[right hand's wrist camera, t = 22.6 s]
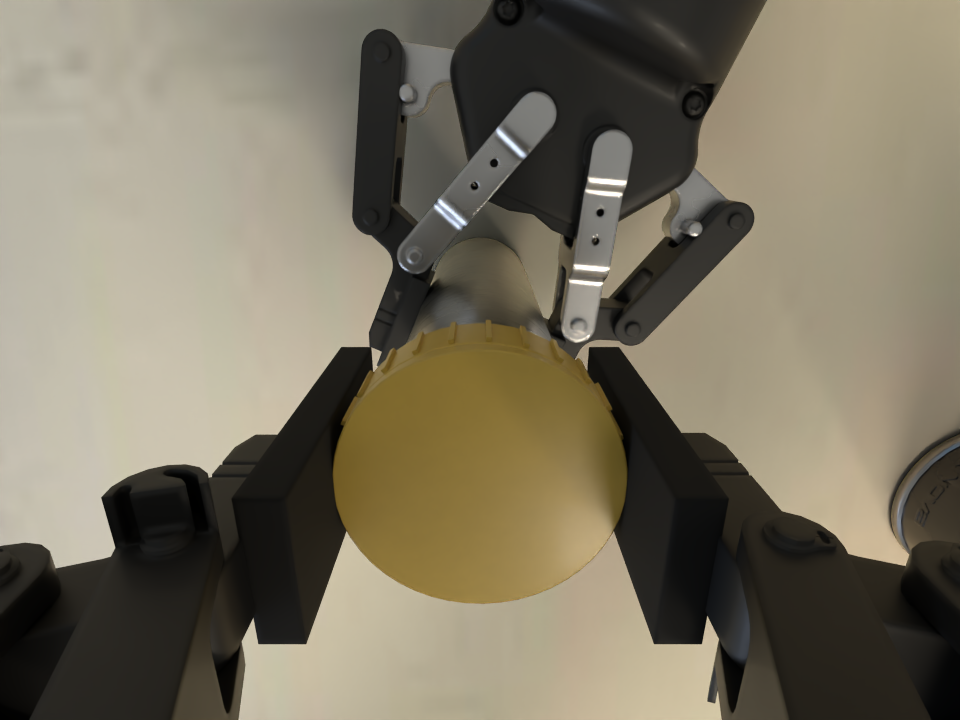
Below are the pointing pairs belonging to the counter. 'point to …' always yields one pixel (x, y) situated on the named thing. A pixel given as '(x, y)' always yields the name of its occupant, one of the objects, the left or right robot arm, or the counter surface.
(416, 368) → the lid
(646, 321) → the left robot arm
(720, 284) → the counter surface
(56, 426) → the counter surface
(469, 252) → the bottle
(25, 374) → the counter surface
